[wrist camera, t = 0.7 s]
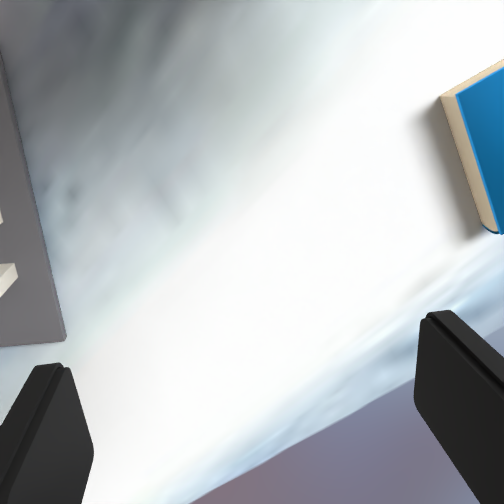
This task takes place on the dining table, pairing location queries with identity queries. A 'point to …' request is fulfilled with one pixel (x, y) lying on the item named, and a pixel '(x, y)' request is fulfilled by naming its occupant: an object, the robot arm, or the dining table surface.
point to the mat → (23, 244)
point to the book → (481, 139)
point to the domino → (7, 276)
